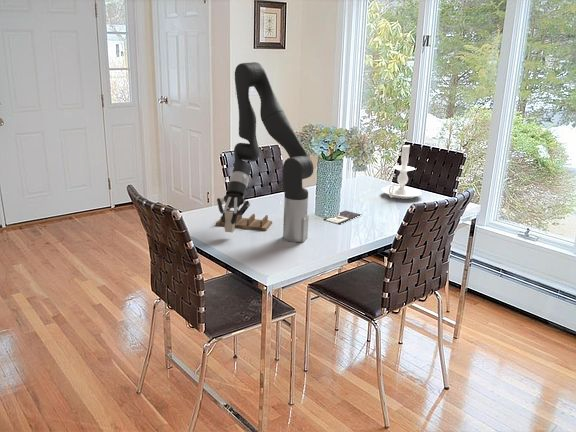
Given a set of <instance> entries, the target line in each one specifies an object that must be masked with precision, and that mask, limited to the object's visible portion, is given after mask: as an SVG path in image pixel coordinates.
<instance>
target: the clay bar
mask: <svg viewBox="0 0 576 432" xmlns="http://www.w3.org/2000/svg"><path fill="white" fill-rule="evenodd" d="M233 214H234V210H231V209H230V210H227V211H226V212H225V226H224V232H225V233H231V234H232V233H234V232H235V231H236V227H235V223H234V224H232V223H231V219H232V216H233Z"/></svg>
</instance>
